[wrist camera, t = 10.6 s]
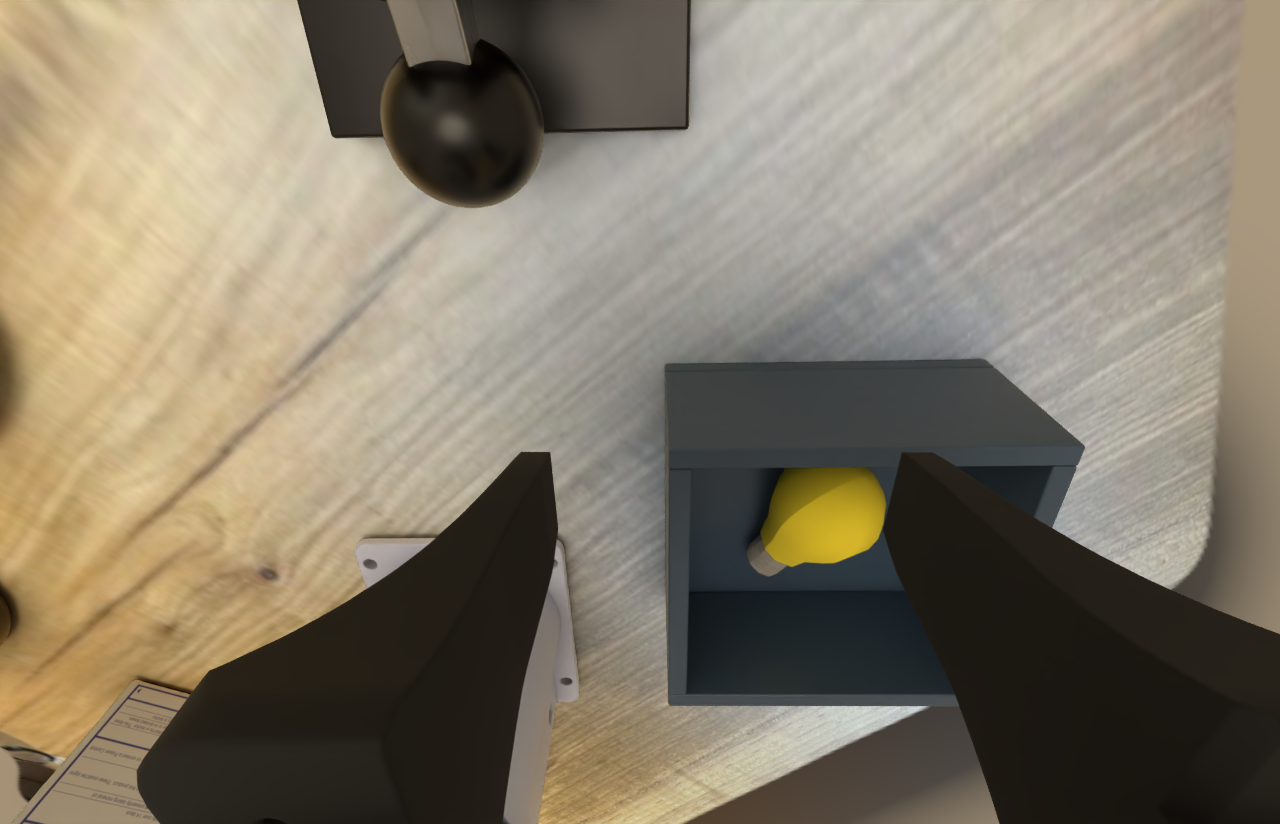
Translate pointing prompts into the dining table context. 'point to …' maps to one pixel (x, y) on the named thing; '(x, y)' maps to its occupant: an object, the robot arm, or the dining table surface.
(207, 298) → the dining table surface
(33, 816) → the medicine box
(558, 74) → the bracket
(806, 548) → the light bulb
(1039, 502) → the bin
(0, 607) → the supplement bottle
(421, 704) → the robot arm
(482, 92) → the lever
